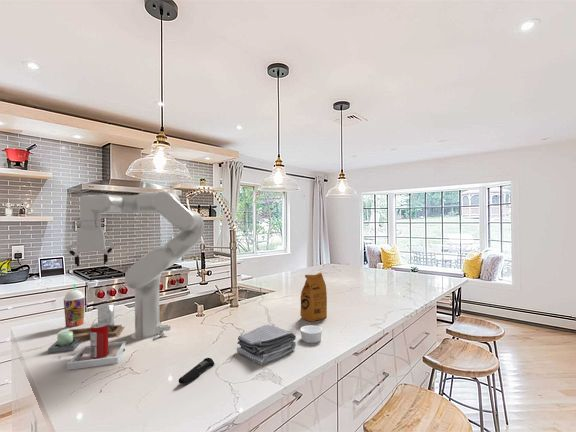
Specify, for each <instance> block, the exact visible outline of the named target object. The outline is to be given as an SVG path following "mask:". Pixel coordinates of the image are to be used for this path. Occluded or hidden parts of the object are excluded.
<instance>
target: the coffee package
mask: <svg viewBox="0 0 576 432" xmlns="http://www.w3.org/2000/svg"><path fill="white" fill-rule="evenodd" d="M304 278H305V279H306V280H305V283H304V285H303V287H302V290H301V293H300V312H299V313H300V317H301V319H303V320H305V321H307V322H310V323H311V322H316V321H319V320H320V321H321V320H324V319H326V318H327V315H328V311H327V309H328V308H327V307H328V306H327V305H328V296H327V295H328V294H327V293H328V292H327V286H326V281H325V280H324V276H323V273H322V272H318V273H316V274H305V275H304Z"/></svg>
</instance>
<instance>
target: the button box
mask: <svg viewBox="0 0 576 432" xmlns="http://www.w3.org/2000/svg"><path fill="white" fill-rule="evenodd" d="M81 343H82V341H81V338H75V339H73V343H72V344H71V345H65V346H58V339H57V340H56V341H55V342H54V343H53V344H52V345H51V346H50V347H48V348H47V352H48V354H57V353H65V352H67V353H68V352H74V351H75V350H76V349H77V348H78V346H79V345H80V344H81Z"/></svg>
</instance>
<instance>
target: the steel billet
mask: <svg viewBox="0 0 576 432" xmlns="http://www.w3.org/2000/svg"><path fill="white" fill-rule="evenodd" d="M102 322H103V323H107V326H108V332H114V325H115V304H114V303H112V302H109V303H108V302H107V303H101V304H98V305H97V323H102Z"/></svg>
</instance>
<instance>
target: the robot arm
mask: <svg viewBox="0 0 576 432" xmlns="http://www.w3.org/2000/svg"><path fill="white" fill-rule="evenodd" d="M102 213H140V214H141V213H142V214H148V213H149V214H151V213H159V214H160V215H161V216H162V217H163V218H165V220H166V221H168V222H169V223H170V224H171V225H172V226H173V227H175V228H176V229H178V230H180V232H178V233H177V234H176V235H175V236H173V237H172V238H171V239H170V240H169V241H167V242H166V243H165V244H163V245H160V246H159V247H158V246H157V247H154V248H152V249H151V250H149V251H148V252H147V253H145V254H144V255H143V256H142V257H140V259H138V260H137V261H136V262H134V264H132V265H131V266H130V267H129V268H128V269H127V271H126V272H125V276H124V282H125V284H126V285H127V286H128V287H129V288H131V289H132V290H134V289H135V291H134V332H132V334H131V336H130V337H131V338H132V339H135V340H148V339H152V340H153V341H154V340H157V339H159V338H161V337H162V336H163V335H164V331H165V332H169V331H171V325H169V324H164V325H163V324H162V323H161V322H160V285H161V278H162V275H161V274H162V273H163V272H164V271H165V270H168V269H169V268H171V267H172V266H173V265H175V264H176V263H177V262H178V261H179V260H180V259H181V258H183V256H184V255H187V253H188V252H189V251H190V250H191V249H192V248H193V247H194V246H195V245H197V243H199V241H200V239H201V238H202V237H203V233H204V229H205V223H204V219H203V216H202V215H201V214H200V213H199V212H197V211H195V210H190V209H189V210H188V209H187V208H186V206H184V205H183V204H182V203H181V199H180V197H179V195H177V194H176V193H174V192H169V191H165V190H163V191H162V190H161V191H159V192H139V193H138V194H135V195H113V194H105V193H104V194H96V195H95V194H94V195H92V194H90V195H88V194H87V195H81V196H80V197H79V221H78V222H77V221H76V222H75V226H78V227H79V228H77V233H76V242H73V243H71V244H69V245H67V246H66V247H65V249H66V250H67V251H68V253H69V254H70V256H71V255H72V256H73V257H74V265H76V267H80V256H79V255H80V253H89V252H90V253H91V252H102V253H103V265H106V264H107V263H108V261H109V260H108V259H109V258H108V257H109V256H108V255H109V254H110V253H111V252H112V250H113V249H114V247H115V243H113V242H110V241H108V240H106V238H105V236H106V235H105V231H104V227H102V216H101V215H102ZM106 245H107V246H110V247H109V248H108V249H106ZM74 247H76V252H75V251H74V250H73V249H72V248H74Z"/></svg>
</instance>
